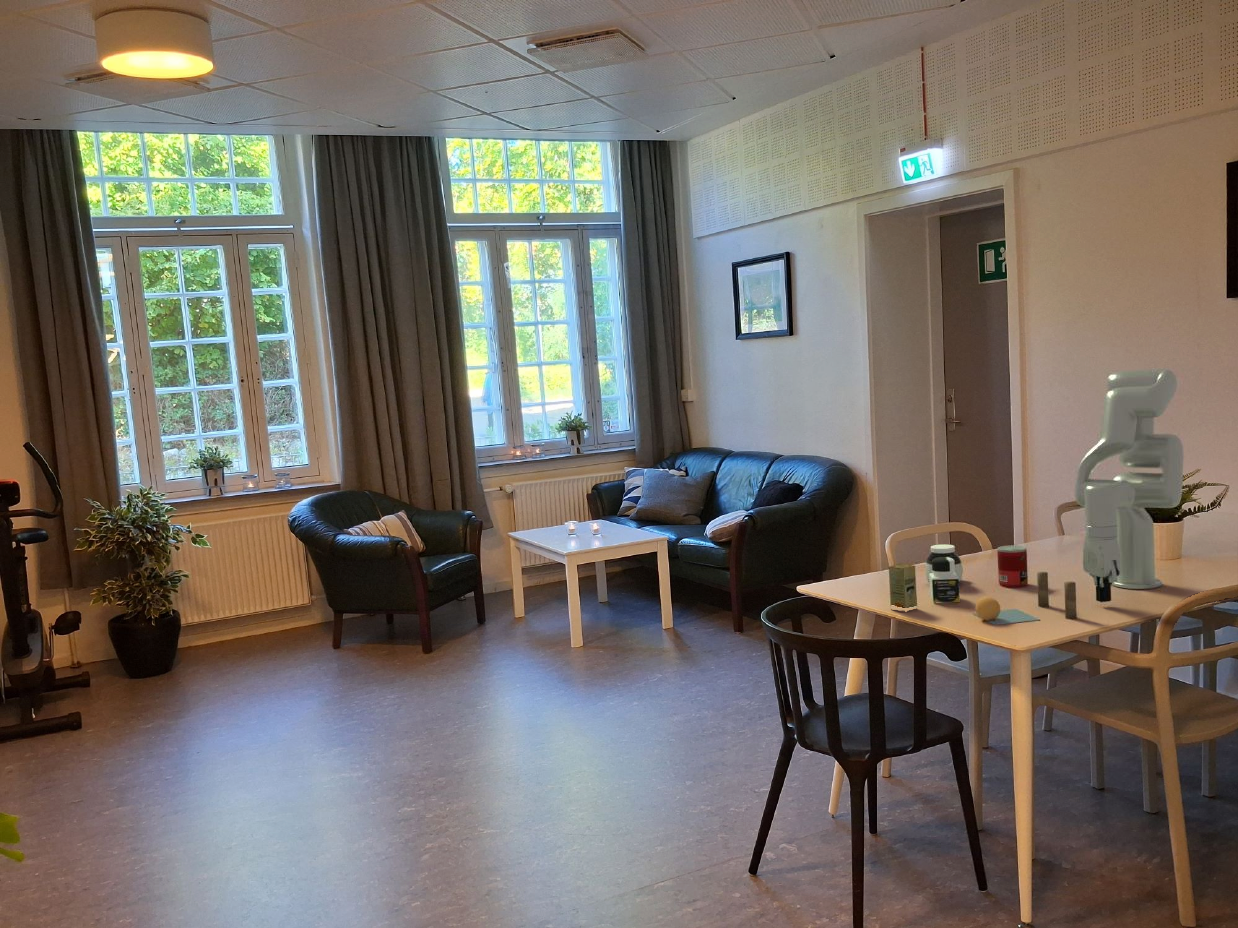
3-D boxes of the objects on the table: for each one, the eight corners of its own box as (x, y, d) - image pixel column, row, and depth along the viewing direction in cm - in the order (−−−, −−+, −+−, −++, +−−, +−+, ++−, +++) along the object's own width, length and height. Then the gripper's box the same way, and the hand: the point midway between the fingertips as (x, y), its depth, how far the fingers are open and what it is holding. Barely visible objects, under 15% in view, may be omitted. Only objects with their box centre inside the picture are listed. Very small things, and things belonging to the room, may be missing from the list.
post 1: (1036, 605, 272) (1035, 572, 271) (1045, 604, 272) (1044, 571, 271) (1041, 607, 269) (1040, 574, 268) (1050, 606, 269) (1049, 573, 268)
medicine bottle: (933, 603, 282) (931, 561, 281) (930, 597, 289) (928, 556, 288) (960, 602, 280) (958, 560, 279) (956, 596, 287) (954, 555, 286)
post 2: (1063, 616, 259) (1062, 582, 258) (1073, 615, 259) (1071, 581, 258) (1069, 619, 256) (1067, 584, 255) (1078, 618, 256) (1077, 583, 256)
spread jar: (930, 589, 299) (929, 550, 298) (920, 580, 310) (918, 543, 309) (972, 586, 298) (970, 547, 297) (960, 578, 310) (958, 540, 309)
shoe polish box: (890, 609, 278) (888, 566, 277) (902, 606, 281) (900, 563, 280) (905, 612, 275) (903, 568, 273) (917, 608, 278) (915, 565, 276)
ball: (967, 603, 263) (985, 590, 263) (979, 622, 264) (997, 608, 264) (978, 608, 257) (996, 594, 258) (990, 627, 258) (1009, 613, 258)
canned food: (1027, 588, 291) (1025, 550, 290) (997, 587, 294) (996, 550, 293) (1028, 582, 298) (1027, 545, 297) (999, 581, 301) (998, 545, 300)
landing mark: (973, 614, 268) (972, 613, 268) (1016, 609, 269) (1016, 608, 269) (995, 625, 256) (995, 624, 256) (1040, 620, 257) (1040, 619, 257)
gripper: (1071, 528, 271) (1074, 596, 272) (1105, 537, 256) (1107, 609, 257) (1098, 526, 271) (1100, 593, 273) (1132, 534, 257) (1134, 605, 258)
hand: (1103, 600), depth 265 cm, fingers closed
